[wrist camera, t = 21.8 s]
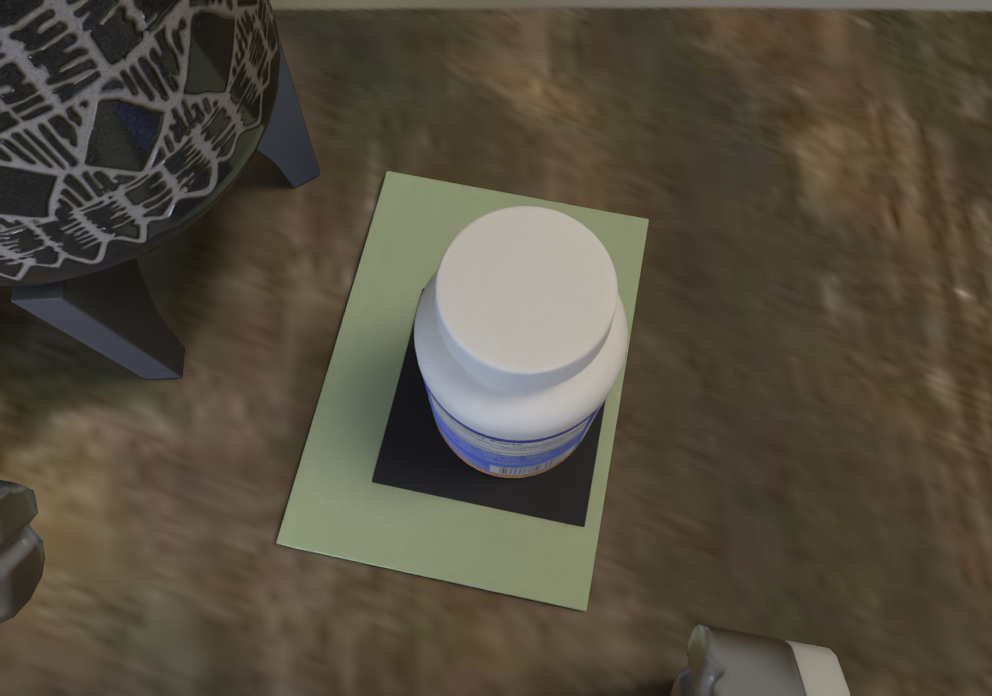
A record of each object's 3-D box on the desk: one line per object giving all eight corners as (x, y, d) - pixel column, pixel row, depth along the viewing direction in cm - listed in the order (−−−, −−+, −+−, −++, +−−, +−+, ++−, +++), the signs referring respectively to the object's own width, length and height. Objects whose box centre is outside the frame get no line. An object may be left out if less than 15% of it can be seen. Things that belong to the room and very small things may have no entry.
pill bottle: (479, 301, 27) (473, 135, 17) (619, 368, 26) (690, 232, 17) (402, 435, 25) (351, 331, 16) (549, 512, 24) (585, 449, 15)
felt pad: (585, 611, 24) (587, 611, 23) (278, 544, 24) (274, 543, 24) (647, 224, 28) (650, 216, 28) (388, 176, 29) (386, 168, 28)
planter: (254, 39, 31) (-22, -634, 14) (417, 280, 27) (301, -245, 11) (-52, 188, 29) (-813, -413, 12) (82, 473, 25) (-740, 184, 8)
